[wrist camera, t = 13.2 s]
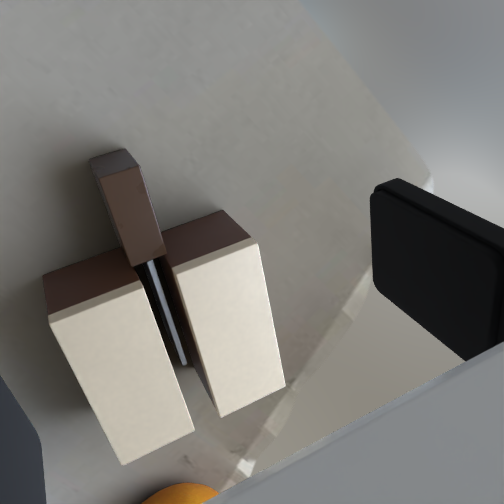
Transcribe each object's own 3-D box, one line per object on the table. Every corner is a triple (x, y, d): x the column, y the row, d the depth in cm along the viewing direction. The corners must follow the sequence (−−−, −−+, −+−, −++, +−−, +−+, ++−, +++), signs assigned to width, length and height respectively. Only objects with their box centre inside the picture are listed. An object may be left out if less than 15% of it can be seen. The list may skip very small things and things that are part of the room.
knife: (87, 159, 30) (98, 178, 27) (125, 147, 30) (139, 165, 27) (155, 340, 38) (169, 371, 34) (184, 327, 38) (200, 358, 35)
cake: (41, 274, 32) (48, 324, 27) (223, 209, 35) (258, 242, 30) (107, 408, 38) (121, 466, 34) (253, 341, 42) (285, 386, 37)
